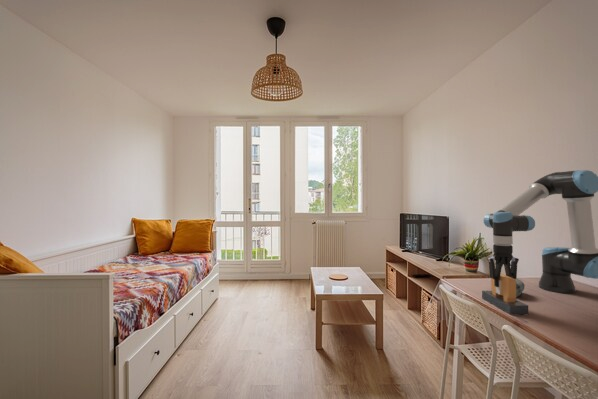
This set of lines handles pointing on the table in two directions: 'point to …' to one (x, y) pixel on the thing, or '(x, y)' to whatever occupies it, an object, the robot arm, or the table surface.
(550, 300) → the table surface
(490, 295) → the cinder block
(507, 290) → the wooden arch block
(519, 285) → the spool
